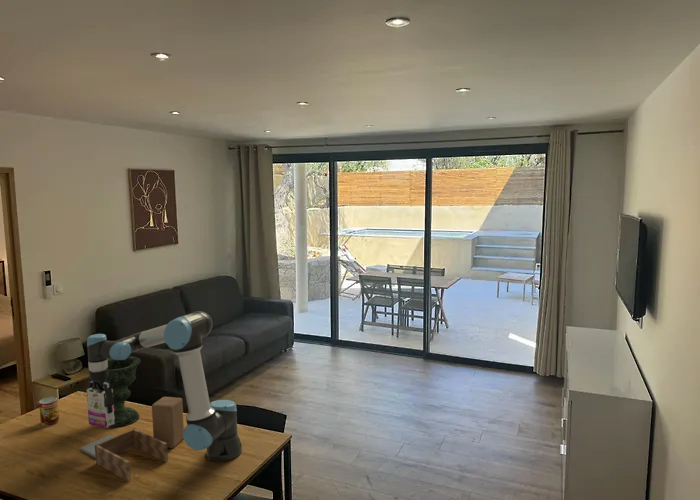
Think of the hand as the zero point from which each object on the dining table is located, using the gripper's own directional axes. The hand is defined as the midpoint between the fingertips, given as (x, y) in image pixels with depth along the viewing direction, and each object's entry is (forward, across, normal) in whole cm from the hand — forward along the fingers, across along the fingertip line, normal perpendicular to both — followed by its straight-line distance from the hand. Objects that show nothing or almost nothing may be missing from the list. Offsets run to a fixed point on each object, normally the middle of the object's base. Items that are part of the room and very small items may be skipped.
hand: (101, 416), depth 217 cm
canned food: (+15, +46, +2) cm, 48 cm away
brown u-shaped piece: (+15, -23, 0) cm, 27 cm away
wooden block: (+15, -21, -19) cm, 32 cm away
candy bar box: (+4, 0, 0) cm, 4 cm away
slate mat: (+15, 0, 0) cm, 15 cm away
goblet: (+15, +20, -19) cm, 31 cm away
